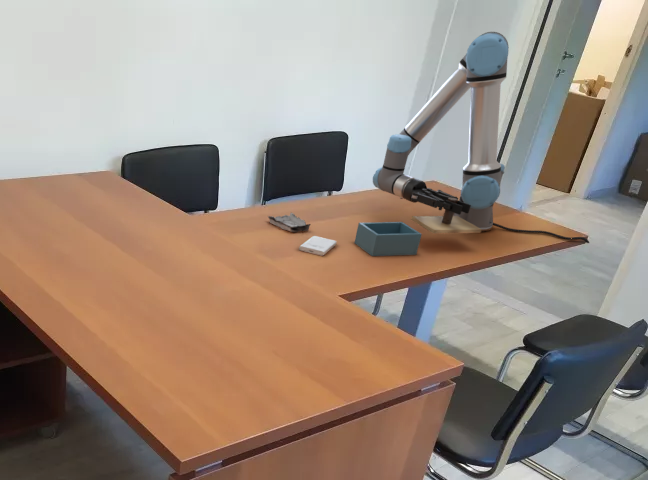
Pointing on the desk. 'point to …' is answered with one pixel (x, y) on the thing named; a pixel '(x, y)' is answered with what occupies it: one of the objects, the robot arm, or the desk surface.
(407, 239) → the toy box
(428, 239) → the desk surface
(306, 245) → the hard drive
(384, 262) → the desk surface
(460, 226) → the tan piece
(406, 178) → the robot arm
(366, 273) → the desk surface
